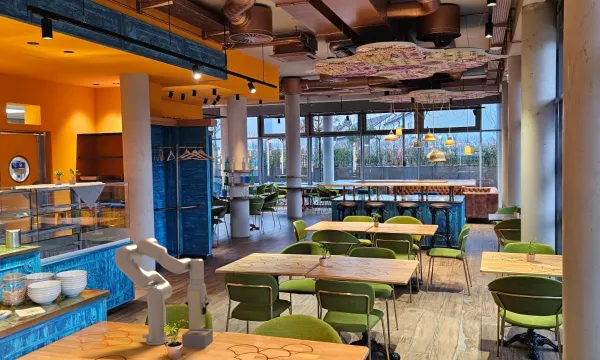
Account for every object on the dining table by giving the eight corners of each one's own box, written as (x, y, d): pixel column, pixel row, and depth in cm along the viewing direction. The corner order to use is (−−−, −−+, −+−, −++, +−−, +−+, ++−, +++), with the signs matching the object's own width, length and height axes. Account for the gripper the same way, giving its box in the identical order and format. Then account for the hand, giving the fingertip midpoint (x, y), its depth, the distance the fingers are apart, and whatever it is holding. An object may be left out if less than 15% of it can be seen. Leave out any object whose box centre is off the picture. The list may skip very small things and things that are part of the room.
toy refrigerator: (201, 330, 278) (200, 291, 279) (188, 329, 280) (188, 290, 280) (206, 326, 286) (206, 288, 286) (194, 326, 288) (193, 288, 288)
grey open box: (182, 347, 278) (182, 334, 278) (190, 340, 290) (190, 328, 290) (205, 347, 276) (205, 335, 276) (212, 341, 288) (212, 329, 288)
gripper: (179, 282, 281) (179, 315, 281) (209, 283, 278) (210, 316, 278) (184, 280, 289) (185, 312, 288) (214, 280, 286) (214, 312, 285)
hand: (197, 313), depth 283 cm, fingers closed on toy refrigerator, 7 cm apart
